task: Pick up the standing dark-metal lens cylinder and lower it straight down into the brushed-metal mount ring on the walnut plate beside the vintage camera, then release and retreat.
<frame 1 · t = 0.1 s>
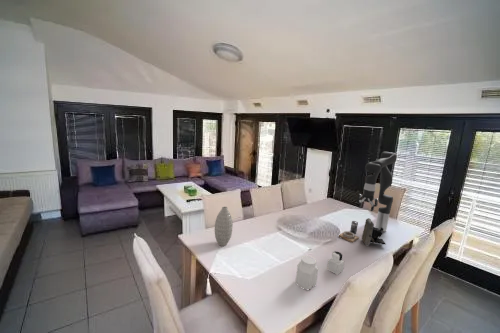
hand: (365, 209, 180), 29 cm above the table, fingers open, 8 cm apart
mount: (348, 237, 194), on the table
vintage camera: (372, 244, 187), on the table
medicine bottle: (334, 270, 148), on the table
lens: (353, 232, 204), on the table
vase: (222, 244, 169), on the table
jar: (305, 283, 134), on the table
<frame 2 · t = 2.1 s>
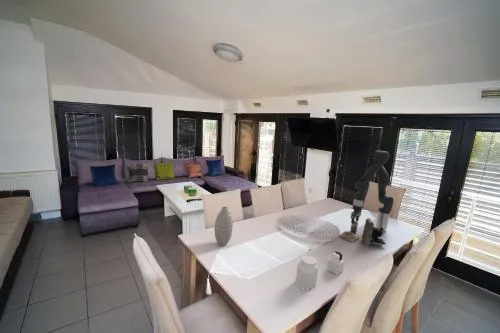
hand: (354, 222, 203), 10 cm above the table, fingers open, 8 cm apart
nothing on the table moved.
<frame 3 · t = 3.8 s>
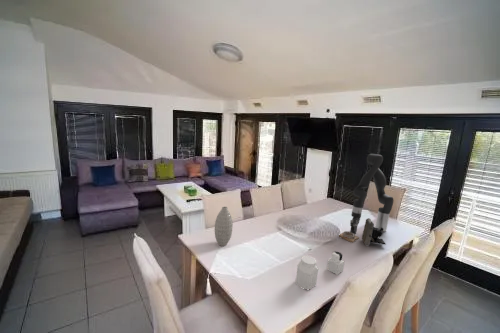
hand: (353, 229, 204), 3 cm above the table, fingers closed on lens, 5 cm apart
lens: (353, 232, 204), on the table, touching gripper
everything else where it was.
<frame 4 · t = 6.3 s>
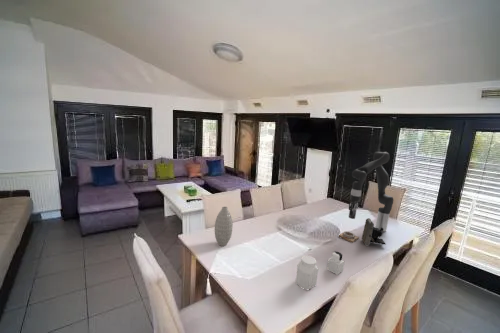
hand: (352, 214, 191), 21 cm above the table, fingers closed on lens, 5 cm apart
lens: (351, 217, 191), point 18 cm above the table, touching gripper
everything else where it was.
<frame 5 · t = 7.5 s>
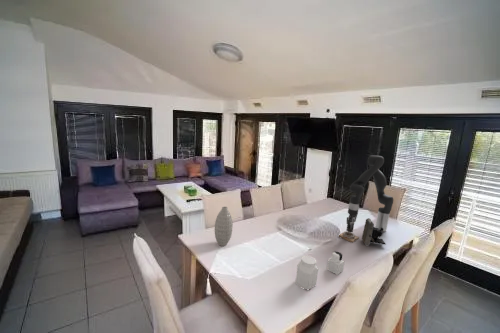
hand: (350, 227, 193), 9 cm above the table, fingers closed on lens, 5 cm apart
lens: (349, 230, 193), point 6 cm above the table, touching gripper
everything else where it was.
when the fingers open (5 cm above the table, at t = 8.7 s): lens stays where it is, resting on mount.
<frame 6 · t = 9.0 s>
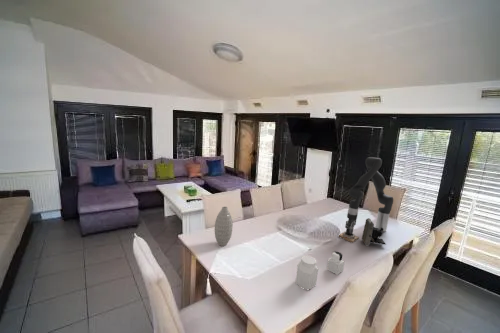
hand: (349, 231, 193), 6 cm above the table, fingers open, 7 cm apart
lens: (348, 235, 194), point 1 cm above the table, touching mount
everything else where it was.
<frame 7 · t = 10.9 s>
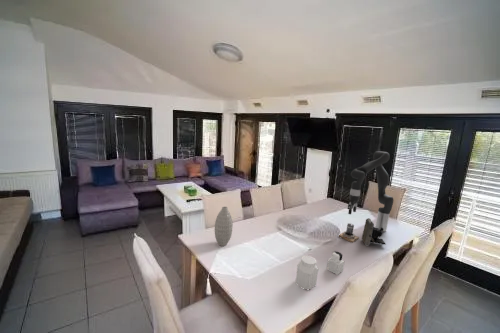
hand: (352, 212, 193), 21 cm above the table, fingers open, 8 cm apart
nothing on the table moved.
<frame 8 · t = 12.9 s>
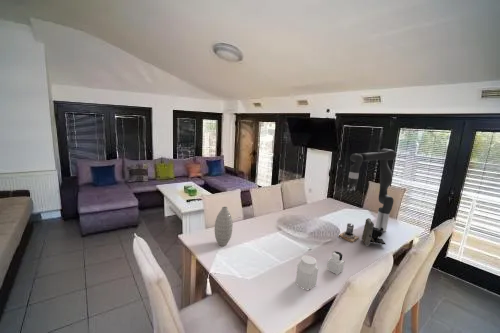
hand: (350, 195, 200), 33 cm above the table, fingers open, 8 cm apart
nothing on the table moved.
at the end: lens 0.2 cm off-centre on the mount, point 1.6 cm above the mount's base; lens tilted 1°; the gripper is holding nothing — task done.
